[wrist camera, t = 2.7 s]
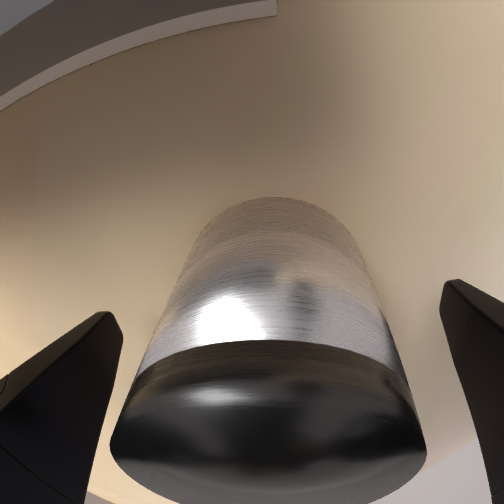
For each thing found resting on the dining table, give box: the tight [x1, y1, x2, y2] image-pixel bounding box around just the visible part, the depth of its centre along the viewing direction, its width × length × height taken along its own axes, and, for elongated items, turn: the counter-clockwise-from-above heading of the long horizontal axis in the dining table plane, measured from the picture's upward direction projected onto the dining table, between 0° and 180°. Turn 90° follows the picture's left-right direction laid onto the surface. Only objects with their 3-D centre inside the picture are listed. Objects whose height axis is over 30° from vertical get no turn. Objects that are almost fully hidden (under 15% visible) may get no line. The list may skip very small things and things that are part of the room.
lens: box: [110, 197, 427, 504], centre depth 7 cm, size 5×5×6 cm
